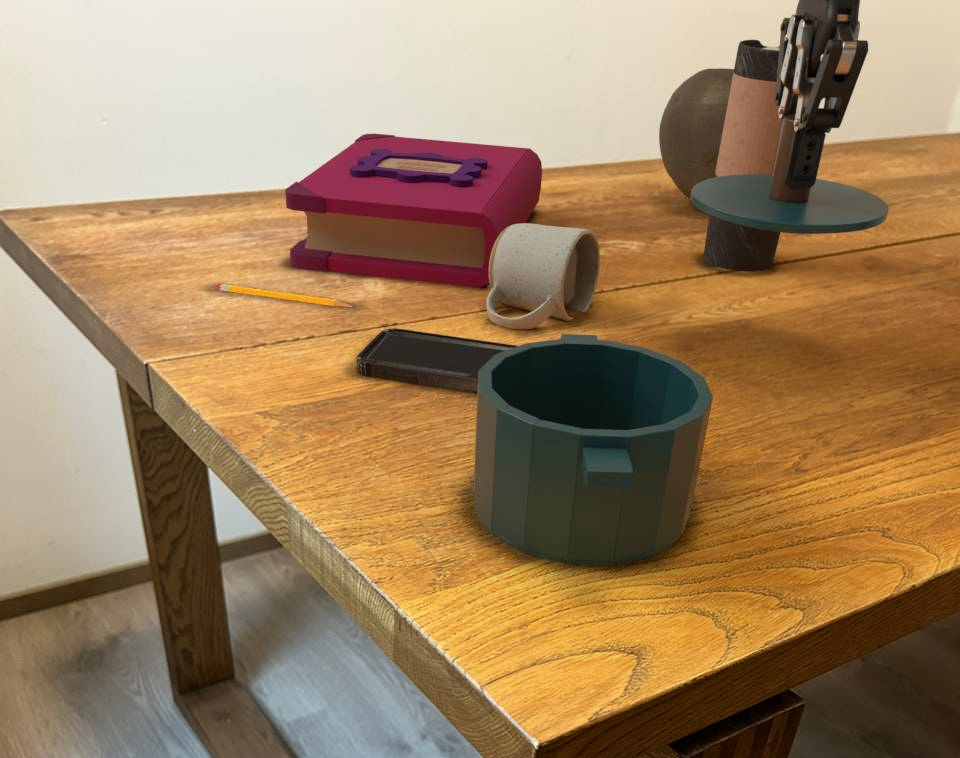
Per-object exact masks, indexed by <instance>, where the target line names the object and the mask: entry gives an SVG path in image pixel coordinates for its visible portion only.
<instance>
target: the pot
mask: <svg viewBox="0 0 960 758" xmlns="http://www.w3.org/2000/svg"><path fill="white" fill-rule="evenodd" d="M516 346H517V347H514V348H512V349H509V350H506V351H503V352H501V353H498V354H496V355H494V356H493V357H492V358H491V359H490V360H489V361H488V362H487V363H486V364H485V365H484V366H483V367H482V368H481V369H480V370H479V371H478V389H477V393H476V414H475V415H476V418H475V419H476V420H475V438H474V439H475V440H474V441H475V442H474V443H475V444H474V464H473V465H474V467H473V471H474V472H473V502H472V503H473V510H474V513H475V515H476V518H477V519H478V522H479V523H480V524H481V525H482V526H483V528H484V529H485V530H486V531H487V532H488V533H489V534H490V535H492V536H493V537H494V538H496V539H497V540H499V541H500V542H501V543H503V544H505V545H507V546H508V547H510V548H513V549H515V550H517V551H518V552H521V553H524V554H526V555H529V556H532V557H536V558H538V559H539V558H540V559H543V560H546V561H552V562H556V563H559V564H561V563H562V564H568V565H575V566H577V565H578V566H614V565H615V566H616V565H622V564H629V563H634V562H637V561H642V560H645V559H648V558H651V557H654V556H657V555H658V554H661V553H662V552H664V551H667V550H668V549H669V548H671V546H673V545H675V544H676V542H677V541H679V539H680V538H681V537H682V535H683V534H684V532H685V530H686V527H687V523H688V520H689V518H690V517H691V512H692V507H693V501H694V497H695V492H696V487H697V481H698V476H699V472H700V466H701V461H702V457H703V456H702V455H703V451H704V445H705V441H706V440H705V439H706V436H707V430H708V426H709V420H710V415H711V409H712V405H713V399H714V396H713V393H712V392H711V389H710V387H709V385H708V383H707V380H706V378H705V377H704V376H703V375H701V374H700V373H698V372H697V371H695V370H694V369H693V368H691V367H690V366H688V365H687V364H686V363H685V362H683V361H682V360H680V359H677V358H675V357H671V356H668V355H666V354H663V353H660V352H658V351H655V350H652V349H650V348H647V347H643V346H638V345H632V344H628V343H627V344H626V343H621V342H616V341H610V340H604V339H598V335H596V334H576V333H575V334H574V333H573V334H572V333H561V334H560V338H557V339H550V340H549V339H548V340H542V341H533V342H527V343H526V342H525V343H523V344H520V345H516Z"/></svg>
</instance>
